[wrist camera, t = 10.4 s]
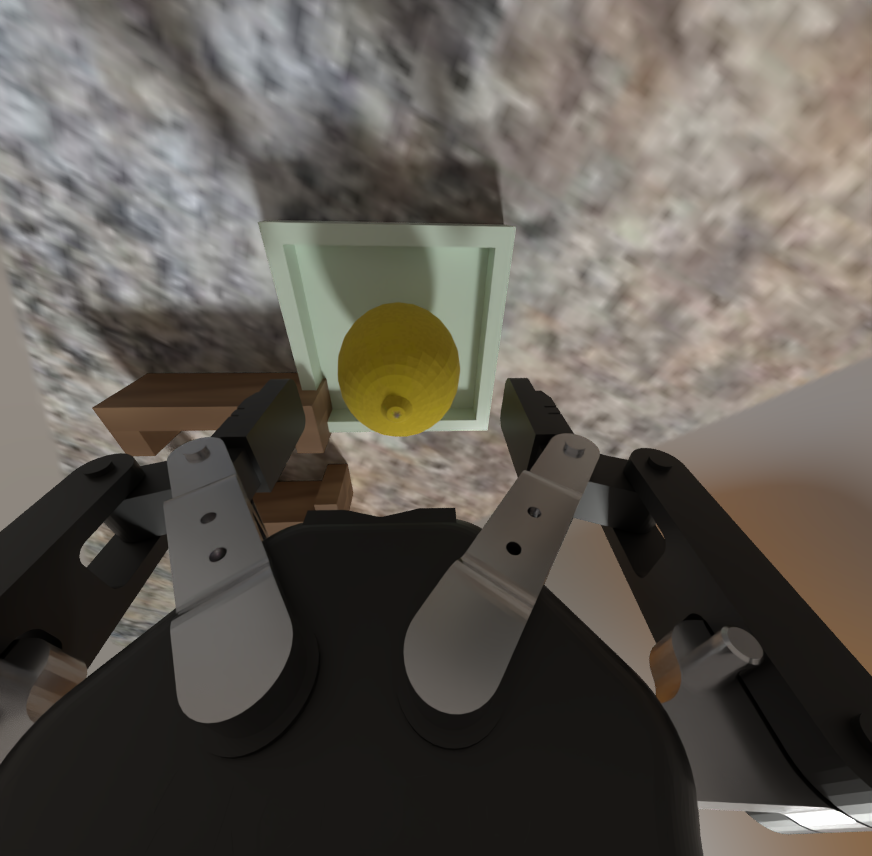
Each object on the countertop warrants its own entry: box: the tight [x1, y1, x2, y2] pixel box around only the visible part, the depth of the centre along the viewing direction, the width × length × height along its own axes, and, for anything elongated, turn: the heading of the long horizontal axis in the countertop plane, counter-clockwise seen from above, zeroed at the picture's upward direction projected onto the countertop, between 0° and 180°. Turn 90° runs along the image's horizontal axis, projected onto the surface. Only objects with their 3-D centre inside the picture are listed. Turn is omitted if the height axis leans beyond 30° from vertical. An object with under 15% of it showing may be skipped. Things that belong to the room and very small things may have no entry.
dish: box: [258, 220, 516, 432], centre depth 17 cm, size 11×11×2 cm
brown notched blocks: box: [92, 373, 353, 536], centre depth 21 cm, size 11×11×4 cm
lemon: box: [338, 302, 460, 436], centre depth 14 cm, size 6×6×8 cm
